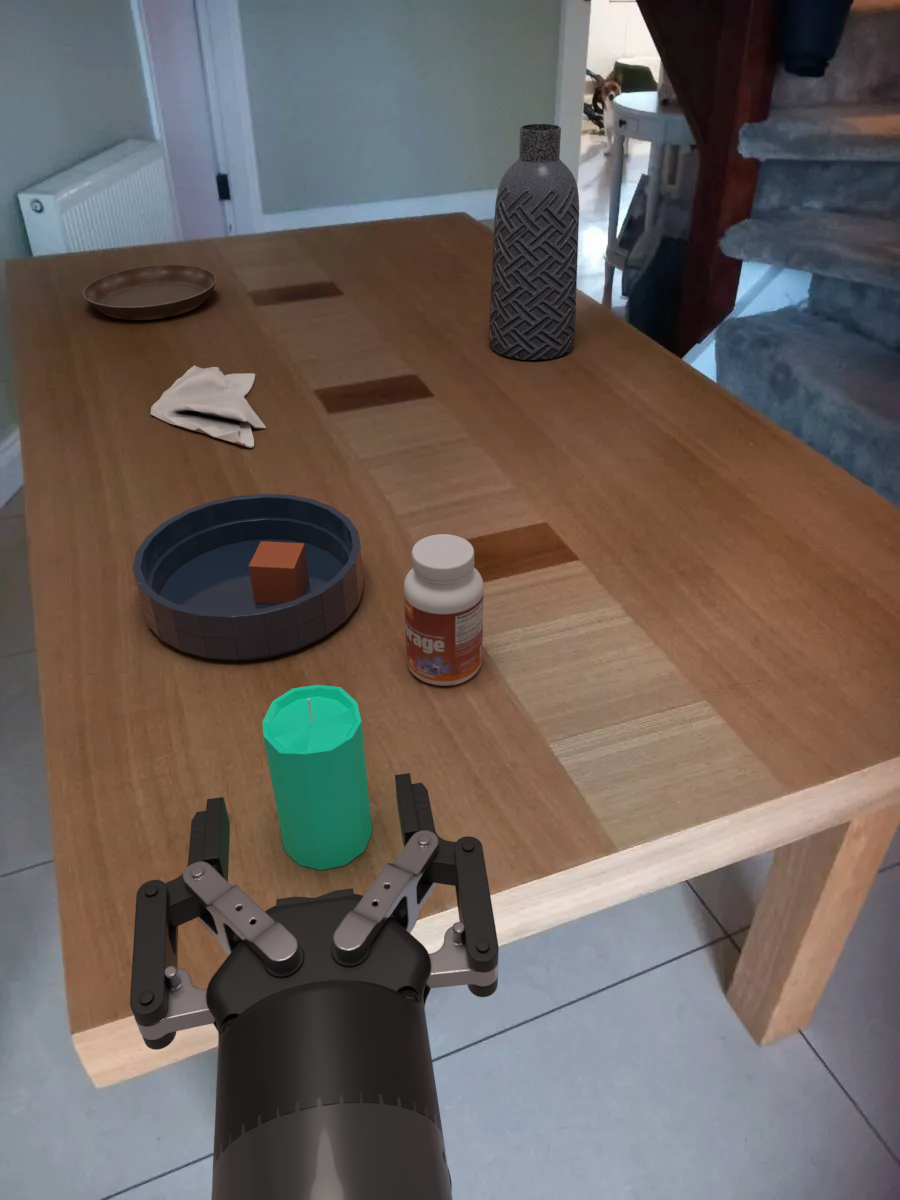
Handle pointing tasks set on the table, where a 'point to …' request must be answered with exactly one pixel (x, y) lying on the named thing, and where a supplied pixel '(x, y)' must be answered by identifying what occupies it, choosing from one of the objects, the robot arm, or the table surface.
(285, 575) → the block
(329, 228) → the table surface
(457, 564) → the pill bottle
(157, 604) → the bowl
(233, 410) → the cloth
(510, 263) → the vase
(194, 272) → the plant saucer
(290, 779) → the candle
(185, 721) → the table surface
